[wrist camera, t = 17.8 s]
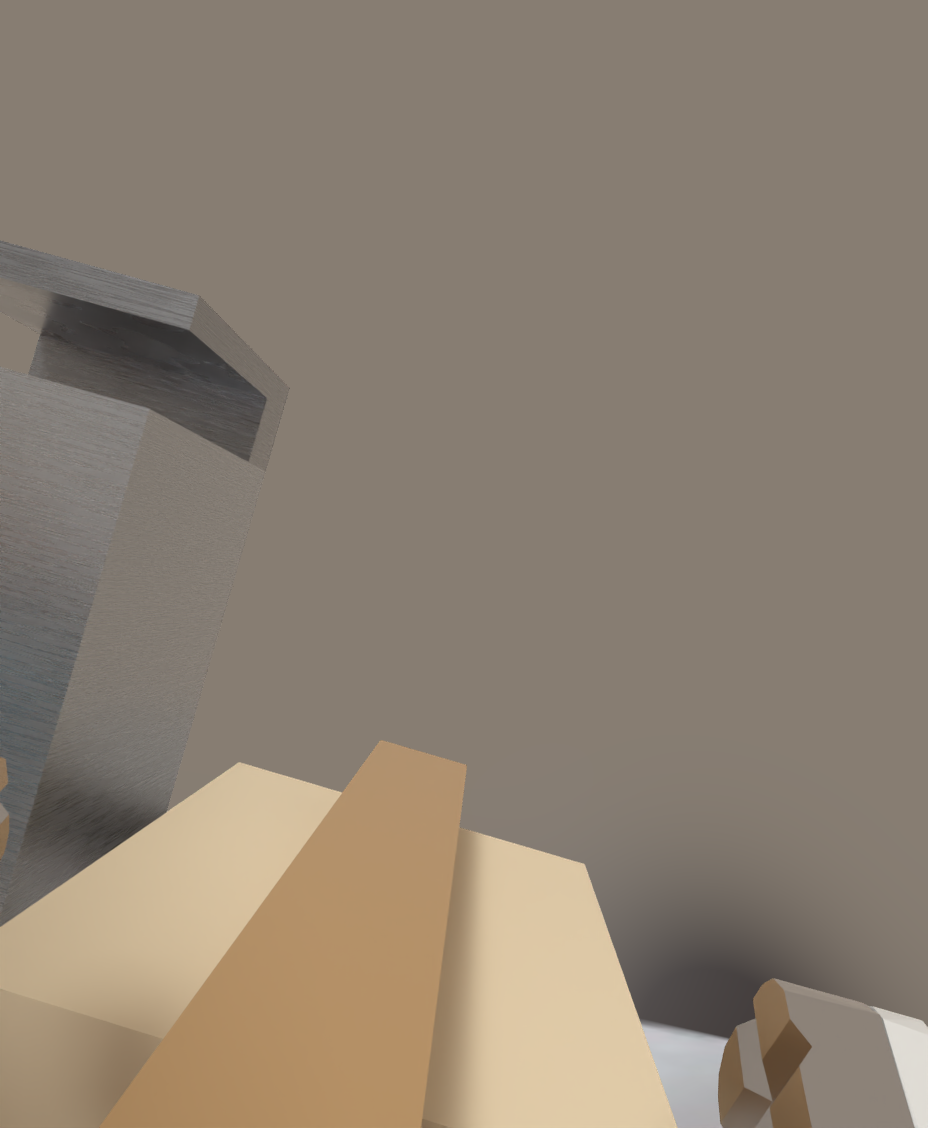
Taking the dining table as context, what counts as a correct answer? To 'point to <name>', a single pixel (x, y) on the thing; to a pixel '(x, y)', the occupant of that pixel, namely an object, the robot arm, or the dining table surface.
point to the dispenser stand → (113, 549)
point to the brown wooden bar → (325, 973)
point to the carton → (229, 900)
